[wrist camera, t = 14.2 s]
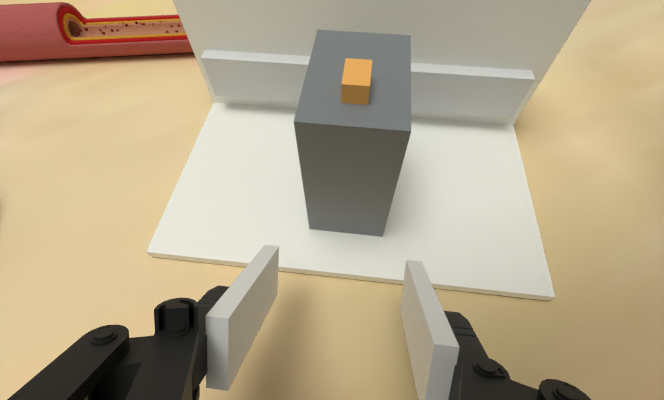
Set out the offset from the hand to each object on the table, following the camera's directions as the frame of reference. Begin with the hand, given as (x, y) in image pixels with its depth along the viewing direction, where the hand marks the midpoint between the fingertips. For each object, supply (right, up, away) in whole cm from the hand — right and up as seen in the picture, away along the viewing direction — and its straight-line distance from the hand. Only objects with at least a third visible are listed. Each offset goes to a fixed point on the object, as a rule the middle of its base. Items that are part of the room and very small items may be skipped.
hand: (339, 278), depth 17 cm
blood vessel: (-20, +20, +19) cm, 34 cm away
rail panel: (+1, +6, +9) cm, 11 cm away
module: (+1, +5, +7) cm, 9 cm away
